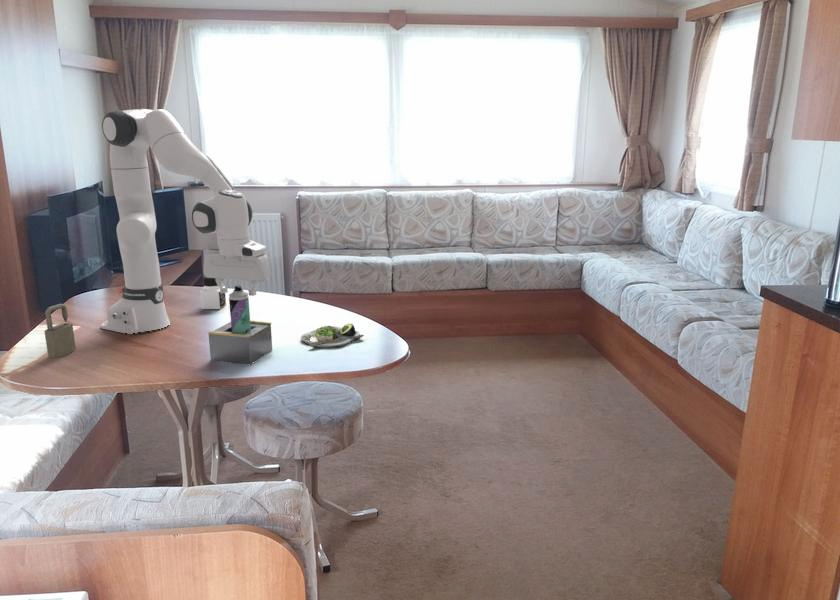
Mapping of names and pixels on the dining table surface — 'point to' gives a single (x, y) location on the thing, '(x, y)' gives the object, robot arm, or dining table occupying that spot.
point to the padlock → (59, 334)
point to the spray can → (239, 311)
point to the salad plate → (332, 336)
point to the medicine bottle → (212, 295)
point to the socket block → (240, 343)
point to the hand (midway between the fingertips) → (238, 294)
